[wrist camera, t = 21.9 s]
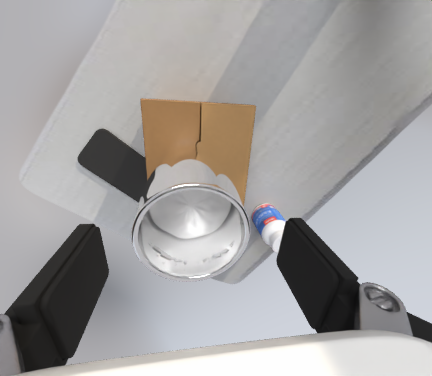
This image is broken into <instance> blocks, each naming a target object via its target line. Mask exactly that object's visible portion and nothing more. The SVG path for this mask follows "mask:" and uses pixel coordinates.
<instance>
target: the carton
mask: <svg viewBox="0 0 432 376" xmlns="http://www.w3.org/2000/svg"><path fill="white" fill-rule="evenodd" d="M201 103H211V102H194V101H177V100H160V99H141V111H142V123H143V134H144V146H145V157H146V169H147V180H148V178H149V177H150V175H151V173H152V172H153V171H154V169H155V168H156V167H157V166H158V165H159V164H160V163H161V162H162V158H163V154H164V151H165V150H166V148H167V147H168V146H169V145H170V144H171V143H172V142H173V141H175V140H177V139H181V138H193V139H196V140H199V141H200V139H201ZM217 104H228V103H217ZM234 105H244V104H234ZM251 106H254V105H251Z"/></svg>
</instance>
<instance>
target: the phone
mask: <svg viewBox="0 0 432 376" xmlns="http://www.w3.org/2000/svg"><path fill="white" fill-rule="evenodd" d="M78 162H79V163H80V164H81V165H82V166H83V167H85V168H87V169H88V170H90V171H91V172H93V173H94V174H96V175H97V176H99V177H100V178H102V179H104V180H105V181H107V182H108V183H110V184H111V185H113V186H114V187H116V188H118V189H119V190H121V191H122V192H124V193H125V194H127V195H128V196H130V197H131V198H133V199H135V200H136V201H138V202H139V201H140V197H141V194H142V192H143V189H144V186H145V184H146V182H147V169H146V159H145V158H144V157H143V156H141V155H140V154H139V153H137V152H136V151H135V150H133V149H132V148H131V147H129V146H128V145H127V144H125V143H124V142H123V141H121V140H120V139H118V138H117V137H116V136H114V135H113V134H112V133H110V132H109V131H107V130H105V129H99V130H97V131H96V132H95V133H94V135H93V136H92V138H91V139H90V140H89V142H88V143H87V144H86V146H85V147H84V149H83V150H82V151H81V153H80V154H79V156H78Z"/></svg>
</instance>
